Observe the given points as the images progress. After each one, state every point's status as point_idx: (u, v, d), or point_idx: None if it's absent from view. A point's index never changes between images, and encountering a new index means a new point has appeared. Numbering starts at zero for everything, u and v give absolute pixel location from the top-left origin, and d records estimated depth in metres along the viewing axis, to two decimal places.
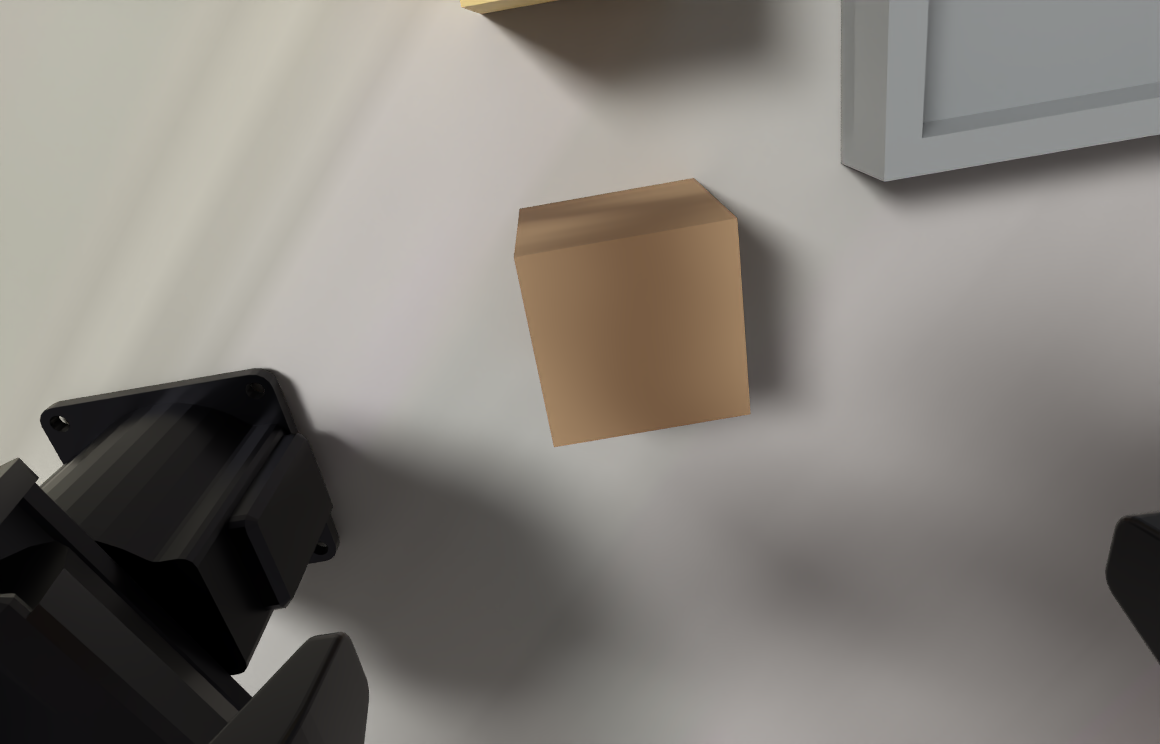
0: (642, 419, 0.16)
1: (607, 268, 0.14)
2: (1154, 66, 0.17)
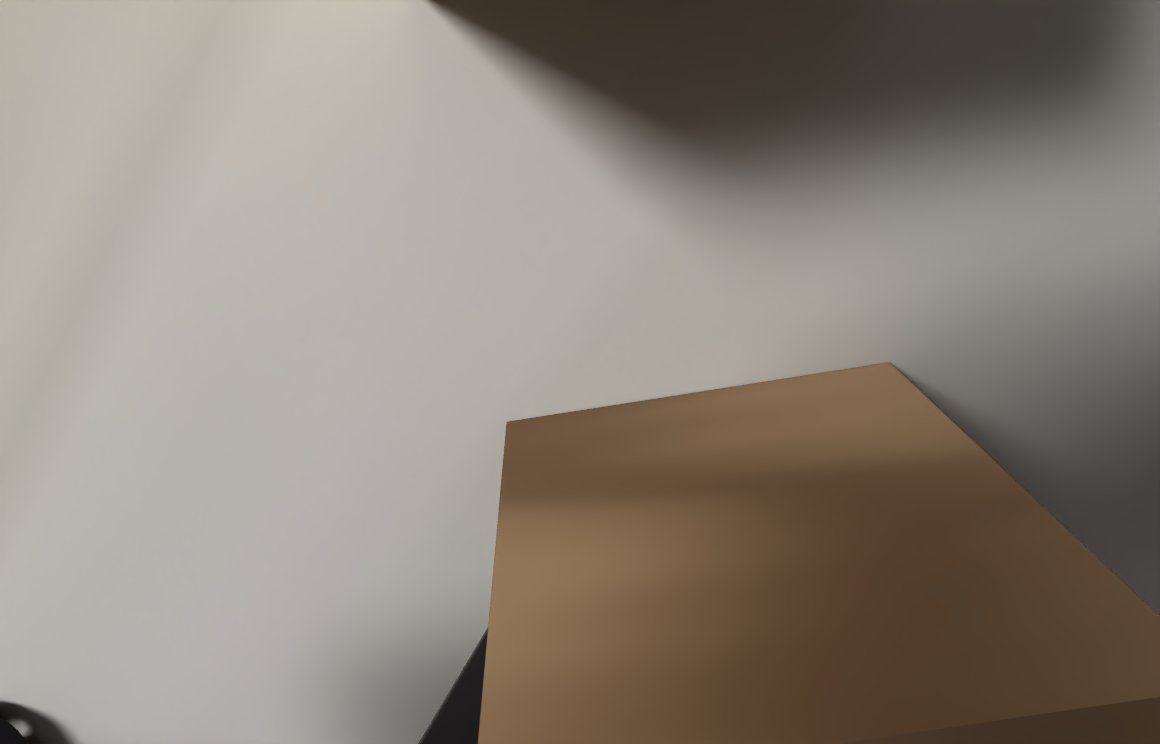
0: None
1: None
2: None
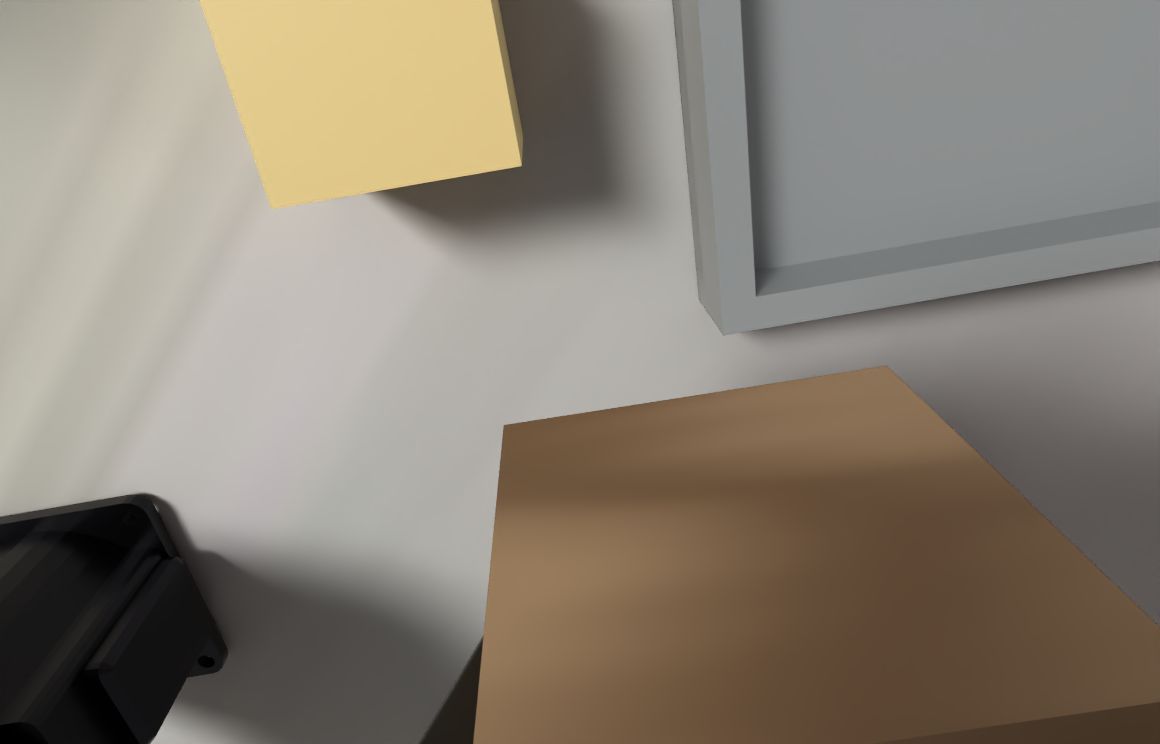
0: None
1: None
2: (988, 216, 0.17)
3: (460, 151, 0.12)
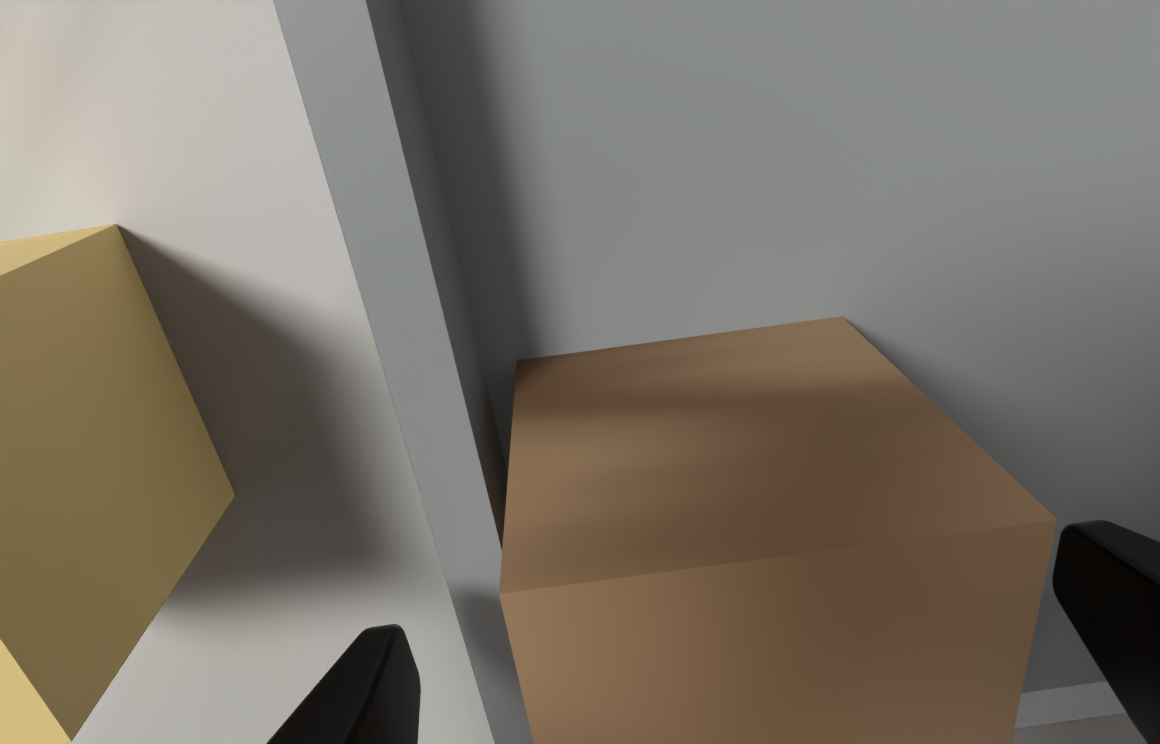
0: None
1: (725, 617, 0.06)
2: None
3: None
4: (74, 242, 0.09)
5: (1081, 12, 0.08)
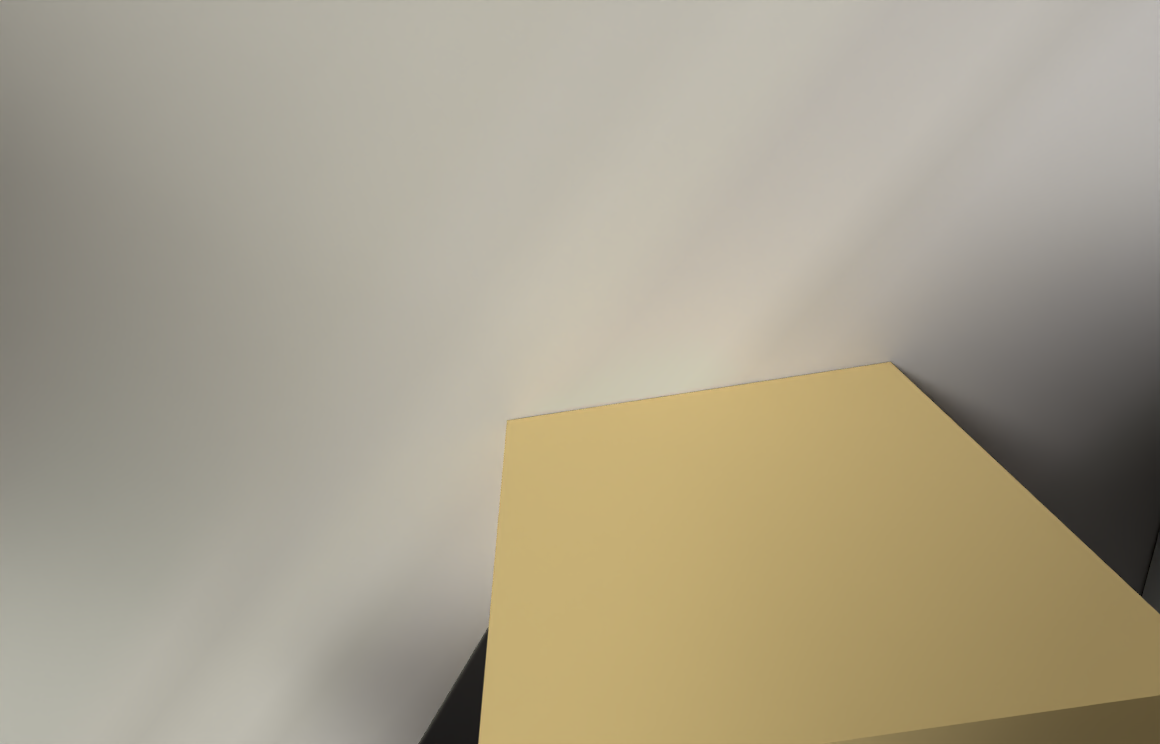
0: None
1: None
2: None
3: None
4: (931, 402, 0.07)
5: None
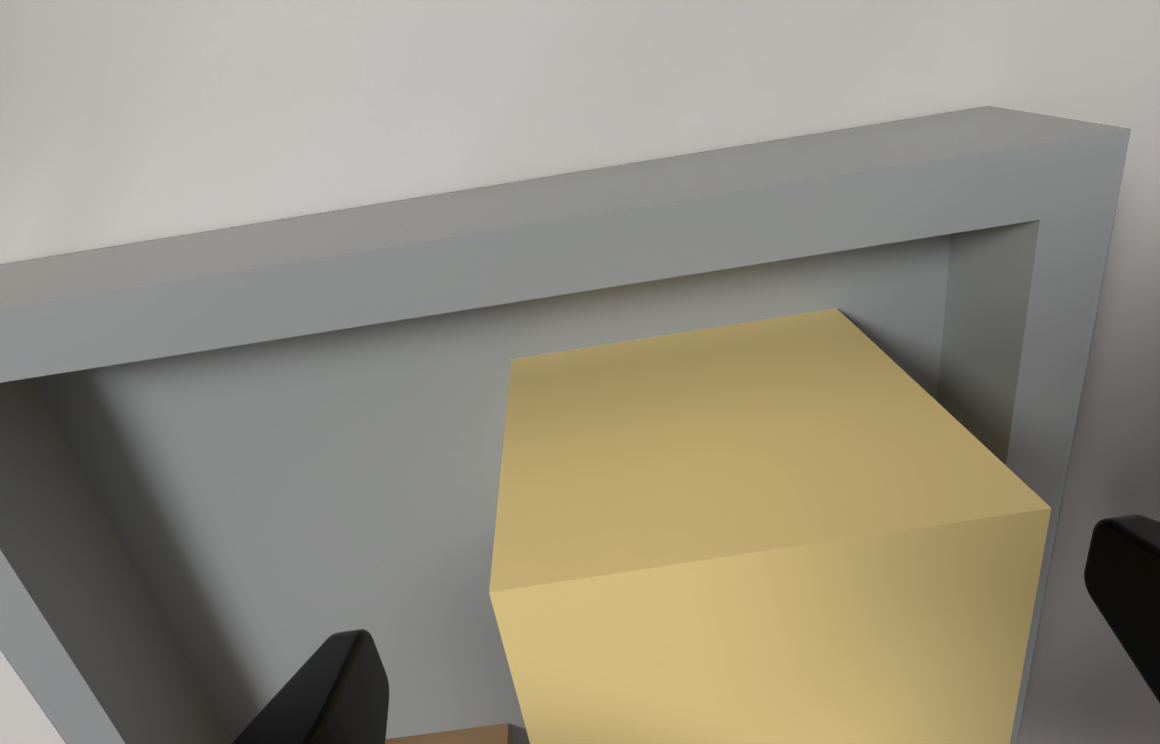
0: None
1: None
2: None
3: None
4: (865, 336, 0.09)
5: None
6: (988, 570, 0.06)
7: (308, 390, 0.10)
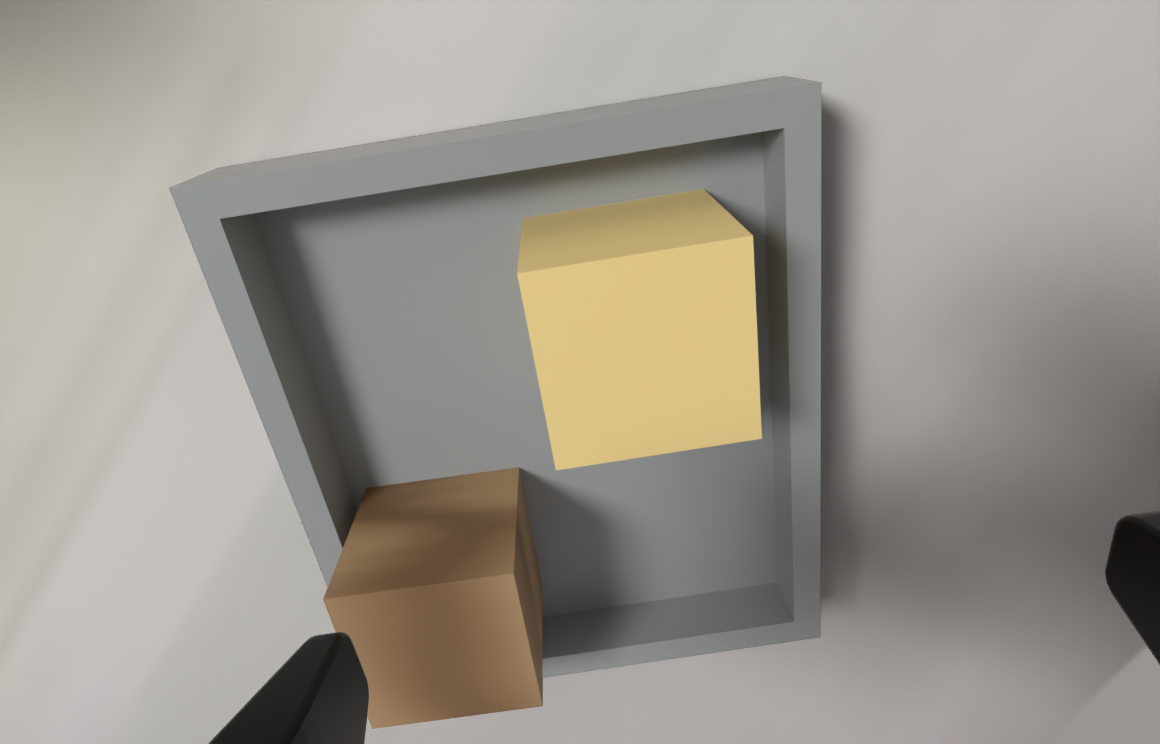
0: (448, 709, 0.18)
1: (405, 607, 0.17)
2: (589, 602, 0.23)
3: (714, 429, 0.15)
4: (711, 197, 0.16)
5: None
6: (731, 267, 0.14)
7: (408, 236, 0.17)
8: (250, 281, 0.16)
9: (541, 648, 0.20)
